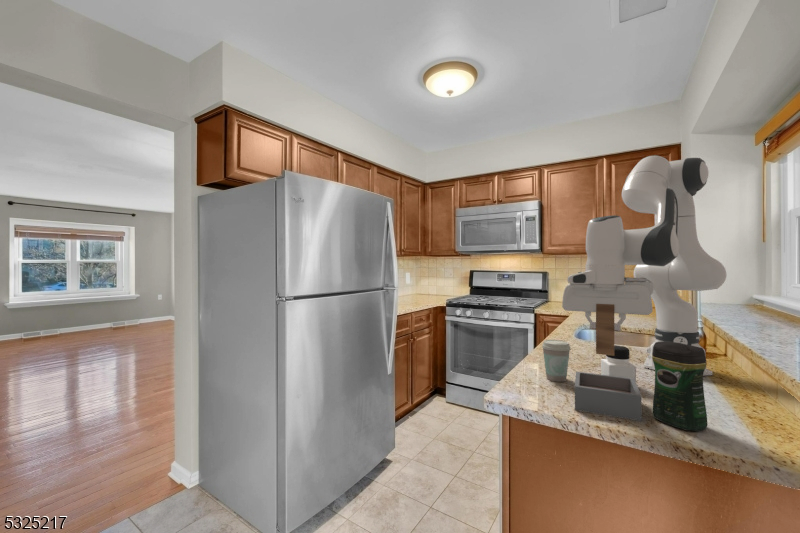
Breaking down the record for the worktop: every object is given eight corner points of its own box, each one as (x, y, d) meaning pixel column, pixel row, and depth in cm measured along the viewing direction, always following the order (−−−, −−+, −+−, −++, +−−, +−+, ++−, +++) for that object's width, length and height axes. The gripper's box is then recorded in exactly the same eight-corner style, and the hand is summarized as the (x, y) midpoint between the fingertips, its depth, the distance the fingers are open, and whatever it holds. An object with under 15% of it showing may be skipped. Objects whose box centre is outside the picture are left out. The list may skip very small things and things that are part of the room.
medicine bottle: (636, 390, 101) (636, 349, 101) (609, 388, 103) (609, 348, 103) (625, 382, 108) (625, 344, 108) (600, 381, 110) (600, 343, 110)
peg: (595, 350, 93) (595, 302, 93) (613, 352, 91) (613, 303, 91) (596, 353, 90) (596, 303, 90) (614, 355, 88) (614, 304, 88)
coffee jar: (714, 429, 77) (714, 346, 77) (690, 435, 74) (689, 349, 74) (668, 412, 86) (668, 337, 86) (645, 416, 84) (645, 340, 84)
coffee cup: (543, 381, 109) (542, 343, 109) (541, 373, 117) (541, 338, 117) (572, 384, 106) (572, 345, 106) (569, 376, 114) (568, 340, 114)
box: (576, 392, 100) (576, 371, 100) (634, 400, 93) (634, 378, 93) (574, 409, 88) (574, 386, 88) (641, 421, 81) (641, 395, 81)
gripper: (651, 277, 88) (651, 331, 88) (563, 276, 98) (563, 325, 98) (655, 278, 83) (655, 335, 83) (561, 276, 93) (561, 328, 93)
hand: (604, 329), depth 91 cm, fingers closed on peg, 4 cm apart
